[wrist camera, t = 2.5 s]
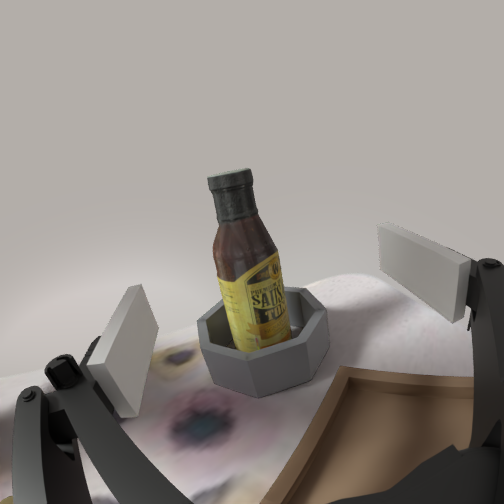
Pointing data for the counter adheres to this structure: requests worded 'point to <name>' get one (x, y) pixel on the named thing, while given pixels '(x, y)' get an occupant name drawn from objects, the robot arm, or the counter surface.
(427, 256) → the robot arm
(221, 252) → the sauce bottle
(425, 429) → the tray
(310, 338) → the holder cup
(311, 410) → the counter surface
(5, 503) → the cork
